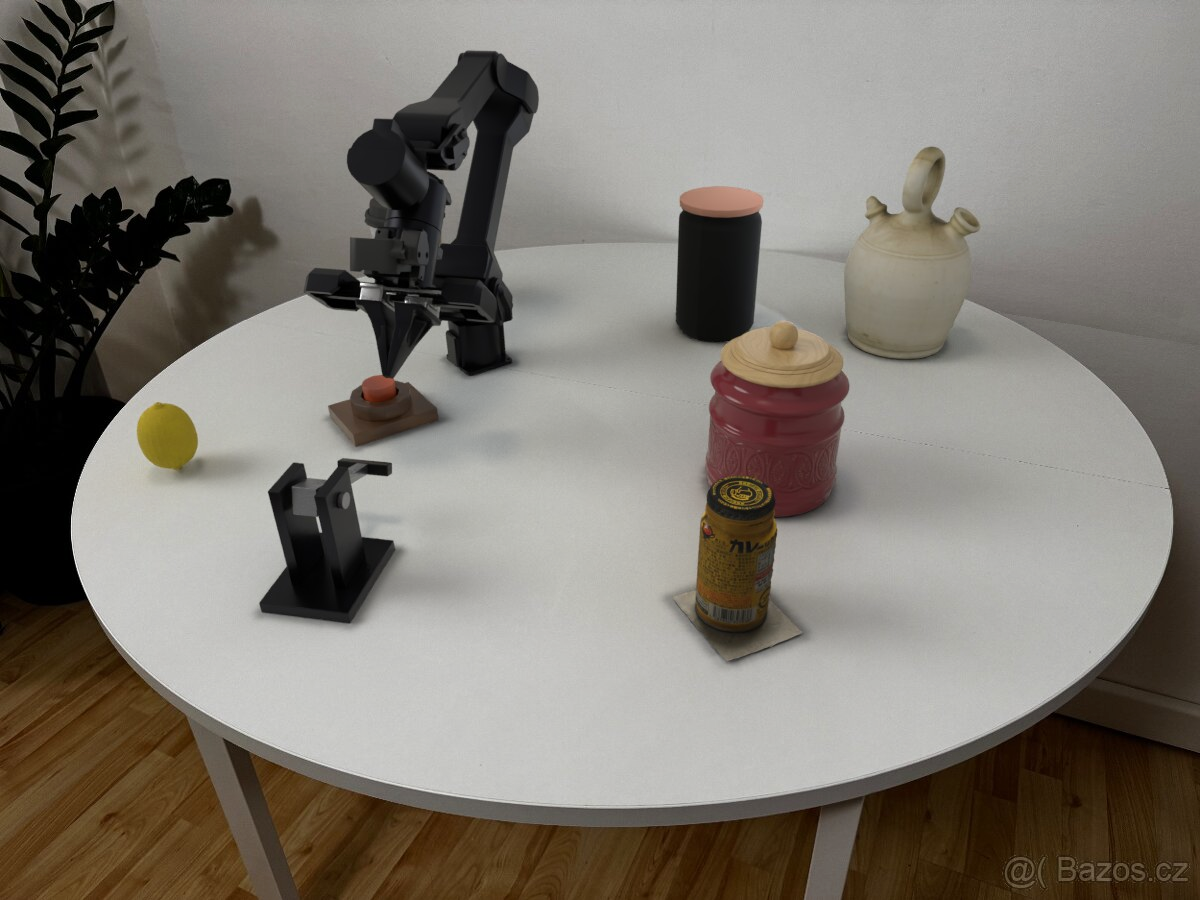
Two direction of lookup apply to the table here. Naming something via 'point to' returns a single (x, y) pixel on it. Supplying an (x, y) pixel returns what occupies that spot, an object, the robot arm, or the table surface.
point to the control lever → (309, 487)
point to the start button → (378, 388)
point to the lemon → (167, 436)
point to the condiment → (737, 570)
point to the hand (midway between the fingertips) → (387, 377)
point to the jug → (909, 269)
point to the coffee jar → (717, 262)
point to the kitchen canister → (778, 414)
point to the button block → (382, 414)
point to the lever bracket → (323, 552)
